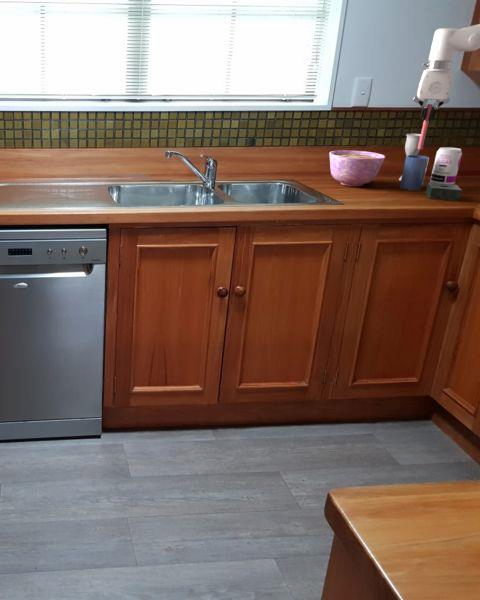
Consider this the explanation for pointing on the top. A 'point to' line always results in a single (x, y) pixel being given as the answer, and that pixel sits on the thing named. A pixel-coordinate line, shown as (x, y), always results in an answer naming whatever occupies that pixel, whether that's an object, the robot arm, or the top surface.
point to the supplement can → (446, 165)
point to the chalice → (412, 144)
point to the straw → (425, 126)
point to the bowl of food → (355, 166)
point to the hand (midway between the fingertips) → (426, 119)
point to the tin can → (414, 172)
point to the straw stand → (443, 192)
